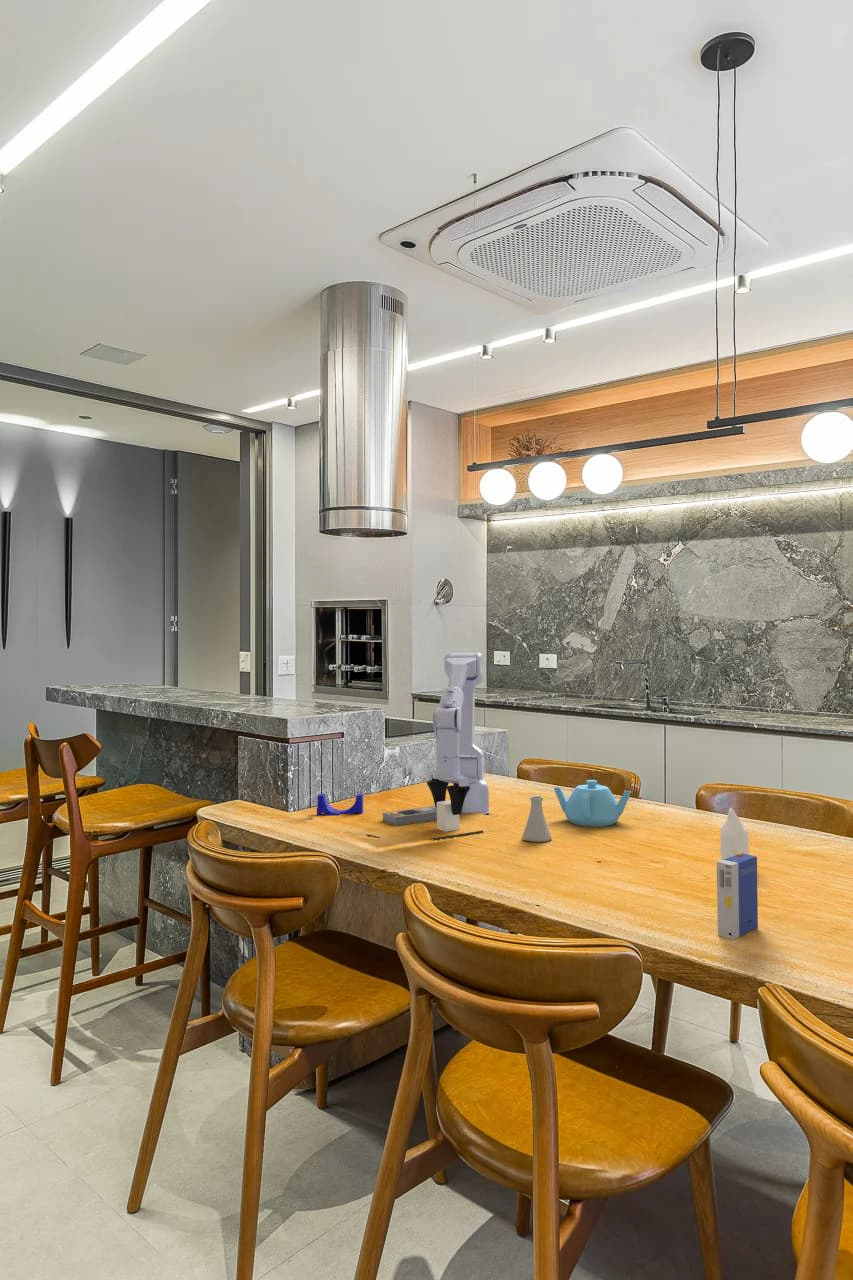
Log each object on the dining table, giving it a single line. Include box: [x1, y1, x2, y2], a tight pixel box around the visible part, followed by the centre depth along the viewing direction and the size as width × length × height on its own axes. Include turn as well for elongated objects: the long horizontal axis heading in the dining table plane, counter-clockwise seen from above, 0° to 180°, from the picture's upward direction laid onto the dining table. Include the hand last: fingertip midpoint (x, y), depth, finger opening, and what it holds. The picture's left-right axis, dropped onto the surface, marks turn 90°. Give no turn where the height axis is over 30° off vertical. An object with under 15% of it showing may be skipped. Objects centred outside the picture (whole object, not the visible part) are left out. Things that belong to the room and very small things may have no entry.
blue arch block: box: [316, 793, 364, 816], centre depth 221 cm, size 12×4×6 cm, turn 88°
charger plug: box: [436, 799, 460, 832], centre depth 201 cm, size 4×4×7 cm
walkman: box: [716, 852, 759, 940], centre depth 131 cm, size 8×3×12 cm, turn 130°
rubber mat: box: [431, 830, 484, 841], centre depth 201 cm, size 14×10×1 cm
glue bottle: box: [719, 807, 750, 860], centre depth 168 cm, size 6×12×6 cm
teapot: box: [553, 779, 632, 828], centre depth 212 cm, size 15×15×11 cm
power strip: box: [382, 805, 437, 826], centre depth 213 cm, size 18×7×3 cm, turn 121°
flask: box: [522, 795, 553, 843], centre depth 194 cm, size 7×7×10 cm
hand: (448, 811), depth 201 cm, fingers open, 7 cm apart
